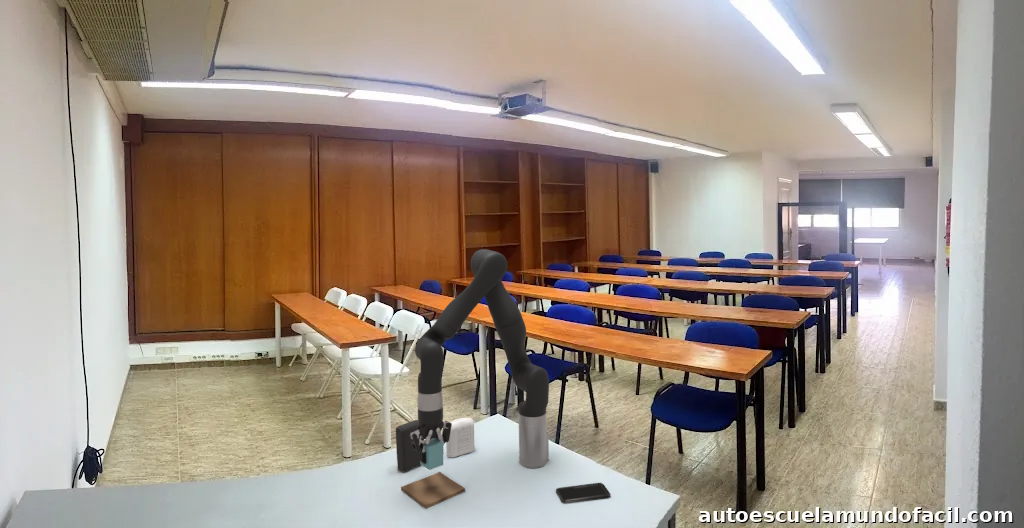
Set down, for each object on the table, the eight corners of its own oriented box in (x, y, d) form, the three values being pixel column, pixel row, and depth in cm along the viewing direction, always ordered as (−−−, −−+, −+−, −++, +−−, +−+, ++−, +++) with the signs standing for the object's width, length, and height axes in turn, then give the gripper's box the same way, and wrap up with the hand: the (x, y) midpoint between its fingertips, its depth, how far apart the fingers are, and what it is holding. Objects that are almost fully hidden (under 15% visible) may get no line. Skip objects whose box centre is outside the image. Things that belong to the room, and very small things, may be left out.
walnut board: (439, 474, 174) (439, 471, 174) (465, 491, 164) (465, 488, 164) (401, 490, 165) (401, 487, 165) (425, 508, 155) (425, 505, 154)
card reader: (418, 460, 185) (417, 417, 183) (426, 463, 182) (424, 420, 180) (396, 469, 178) (394, 426, 176) (403, 473, 175) (401, 429, 174)
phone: (611, 495, 159) (562, 501, 156) (611, 499, 159) (562, 505, 156) (601, 482, 166) (554, 487, 163) (601, 485, 166) (554, 491, 163)
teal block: (434, 459, 167) (433, 437, 166) (443, 464, 163) (442, 442, 162) (420, 464, 164) (419, 442, 163) (429, 470, 160) (428, 447, 159)
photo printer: (470, 447, 194) (469, 413, 193) (476, 451, 190) (475, 417, 189) (444, 454, 188) (443, 420, 187) (450, 459, 185) (449, 424, 183)
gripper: (443, 396, 169) (444, 449, 171) (402, 407, 160) (404, 463, 161) (457, 403, 163) (458, 457, 165) (415, 415, 154) (417, 472, 156)
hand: (431, 459), depth 163 cm, fingers closed on teal block, 5 cm apart
